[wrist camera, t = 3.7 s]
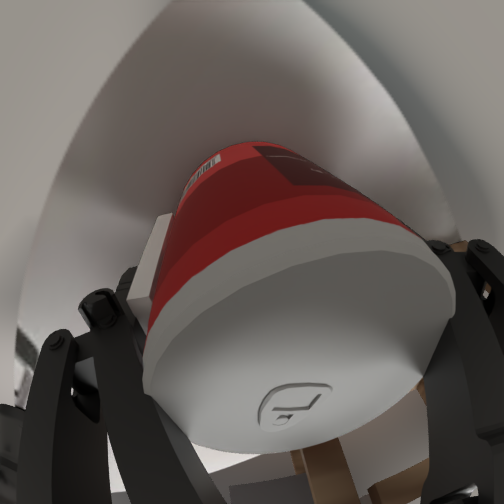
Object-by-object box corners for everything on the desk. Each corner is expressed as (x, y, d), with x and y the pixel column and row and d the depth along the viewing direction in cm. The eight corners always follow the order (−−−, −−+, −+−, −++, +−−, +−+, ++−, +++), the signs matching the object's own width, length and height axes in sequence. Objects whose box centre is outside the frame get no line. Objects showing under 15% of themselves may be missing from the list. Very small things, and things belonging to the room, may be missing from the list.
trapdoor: (264, 509, 17) (274, 560, 12) (227, 484, 9) (244, 589, 4) (448, 441, 18) (468, 483, 12) (523, 355, 10) (563, 415, 5)
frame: (282, 419, 27) (310, 531, 15) (260, 293, 18) (325, 534, 5) (418, 372, 28) (467, 460, 16) (465, 240, 19) (578, 350, 6)
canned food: (184, 277, 16) (175, 460, 7) (176, 139, 13) (82, 241, 3) (308, 272, 18) (386, 427, 8) (325, 143, 14) (500, 235, 4)
